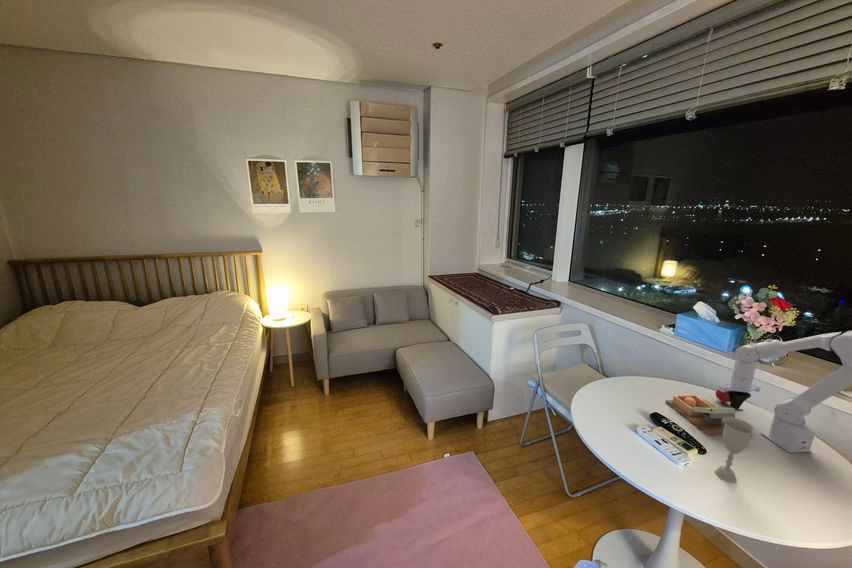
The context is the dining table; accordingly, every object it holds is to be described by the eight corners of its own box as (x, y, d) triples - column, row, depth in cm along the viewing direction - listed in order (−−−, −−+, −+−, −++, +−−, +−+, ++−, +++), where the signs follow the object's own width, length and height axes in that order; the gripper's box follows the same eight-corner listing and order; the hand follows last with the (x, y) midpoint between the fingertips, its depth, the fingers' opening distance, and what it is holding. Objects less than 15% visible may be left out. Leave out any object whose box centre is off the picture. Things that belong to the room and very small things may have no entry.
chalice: (743, 489, 96) (758, 436, 92) (713, 479, 99) (726, 427, 95) (737, 472, 102) (751, 421, 98) (709, 463, 106) (721, 414, 101)
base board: (752, 433, 119) (755, 421, 118) (706, 434, 119) (709, 422, 117) (704, 401, 139) (707, 390, 137) (665, 402, 138) (667, 391, 137)
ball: (698, 409, 131) (699, 399, 131) (689, 409, 131) (689, 399, 131) (690, 404, 135) (690, 395, 135) (680, 405, 135) (681, 395, 135)
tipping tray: (761, 417, 118) (759, 407, 119) (712, 418, 118) (710, 408, 119) (736, 414, 127) (734, 405, 128) (691, 415, 127) (689, 406, 128)
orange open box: (712, 415, 128) (714, 408, 127) (690, 416, 127) (691, 408, 127) (693, 402, 136) (695, 395, 136) (672, 402, 136) (673, 395, 135)
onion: (718, 405, 136) (722, 387, 134) (711, 397, 141) (715, 380, 139) (735, 407, 134) (740, 390, 132) (727, 399, 140) (731, 383, 138)
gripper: (750, 370, 128) (742, 401, 131) (714, 370, 127) (707, 401, 130) (769, 379, 121) (760, 412, 124) (731, 380, 120) (723, 412, 124)
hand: (734, 407), depth 127 cm, fingers closed
